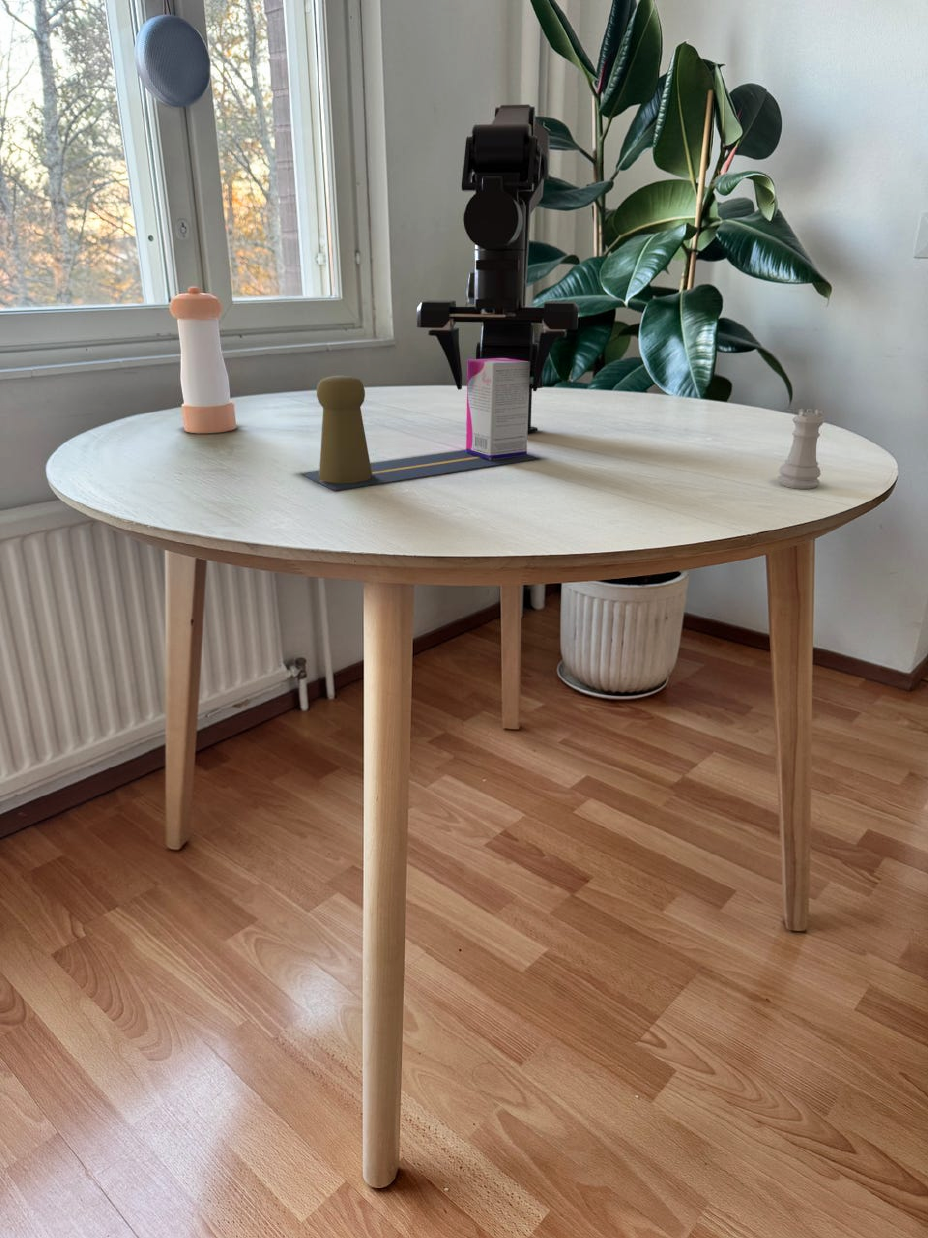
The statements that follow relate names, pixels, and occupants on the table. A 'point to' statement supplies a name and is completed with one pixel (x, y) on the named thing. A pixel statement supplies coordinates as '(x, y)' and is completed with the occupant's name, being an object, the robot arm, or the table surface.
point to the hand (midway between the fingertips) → (497, 389)
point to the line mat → (420, 468)
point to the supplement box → (497, 407)
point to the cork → (343, 431)
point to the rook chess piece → (803, 452)
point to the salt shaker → (202, 364)
